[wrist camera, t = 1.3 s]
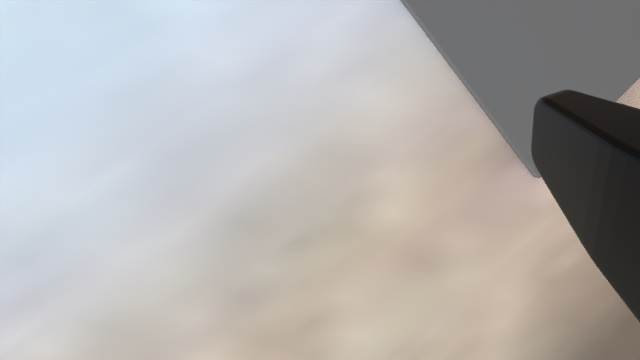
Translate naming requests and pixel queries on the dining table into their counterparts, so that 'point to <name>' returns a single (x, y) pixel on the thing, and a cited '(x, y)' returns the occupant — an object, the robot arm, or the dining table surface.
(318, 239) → the dining table surface
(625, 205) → the robot arm
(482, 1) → the rubber mat
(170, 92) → the dining table surface
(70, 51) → the dining table surface
